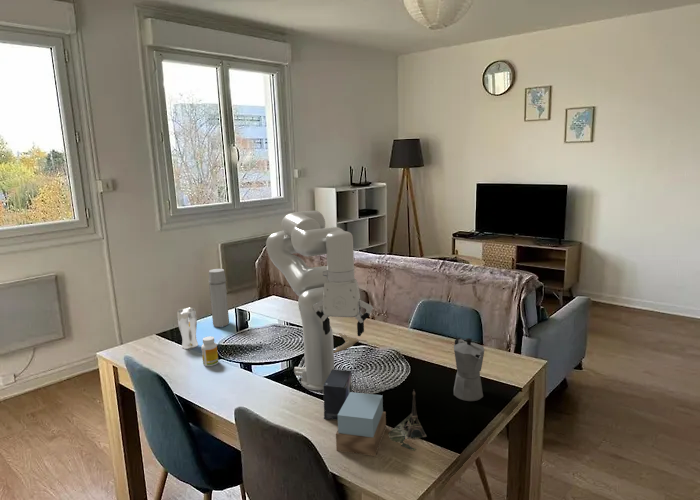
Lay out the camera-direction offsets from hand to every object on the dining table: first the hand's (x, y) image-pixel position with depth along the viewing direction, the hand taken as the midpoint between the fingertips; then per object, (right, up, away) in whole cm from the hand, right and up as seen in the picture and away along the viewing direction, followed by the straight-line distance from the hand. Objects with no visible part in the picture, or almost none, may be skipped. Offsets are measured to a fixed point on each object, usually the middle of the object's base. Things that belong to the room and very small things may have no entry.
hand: (343, 333), depth 139 cm
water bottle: (-55, -9, +78) cm, 96 cm away
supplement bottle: (-49, -18, +38) cm, 64 cm away
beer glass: (-62, -15, +55) cm, 84 cm away
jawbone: (-4, -14, +50) cm, 52 cm away
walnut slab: (+5, -26, -11) cm, 29 cm away
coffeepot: (+38, -20, +11) cm, 44 cm away
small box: (-1, -23, +3) cm, 23 cm away
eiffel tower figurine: (+19, -25, -9) cm, 33 cm away
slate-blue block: (+5, -21, -12) cm, 25 cm away
